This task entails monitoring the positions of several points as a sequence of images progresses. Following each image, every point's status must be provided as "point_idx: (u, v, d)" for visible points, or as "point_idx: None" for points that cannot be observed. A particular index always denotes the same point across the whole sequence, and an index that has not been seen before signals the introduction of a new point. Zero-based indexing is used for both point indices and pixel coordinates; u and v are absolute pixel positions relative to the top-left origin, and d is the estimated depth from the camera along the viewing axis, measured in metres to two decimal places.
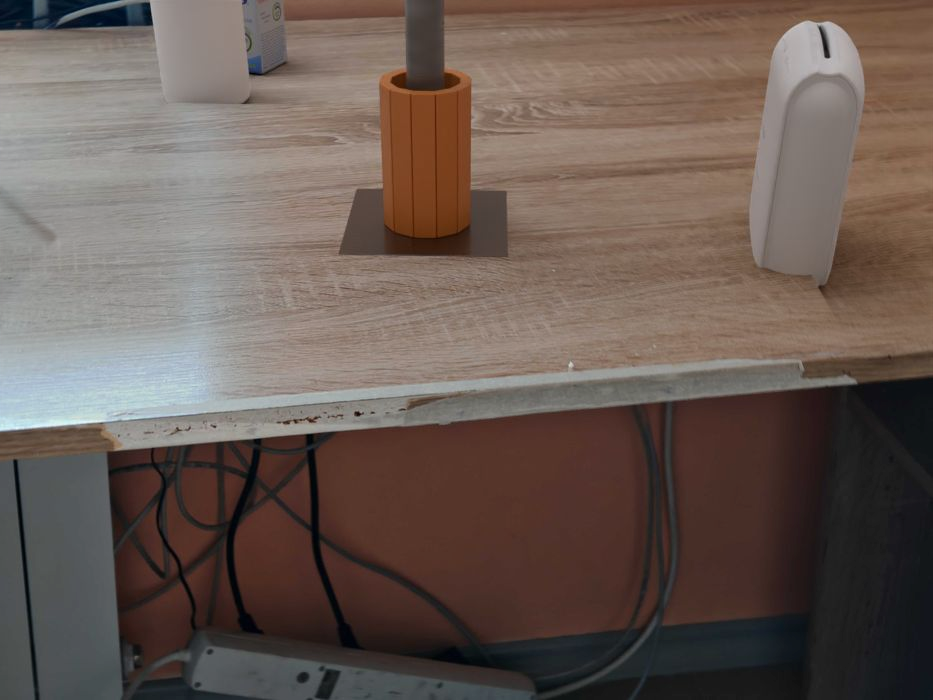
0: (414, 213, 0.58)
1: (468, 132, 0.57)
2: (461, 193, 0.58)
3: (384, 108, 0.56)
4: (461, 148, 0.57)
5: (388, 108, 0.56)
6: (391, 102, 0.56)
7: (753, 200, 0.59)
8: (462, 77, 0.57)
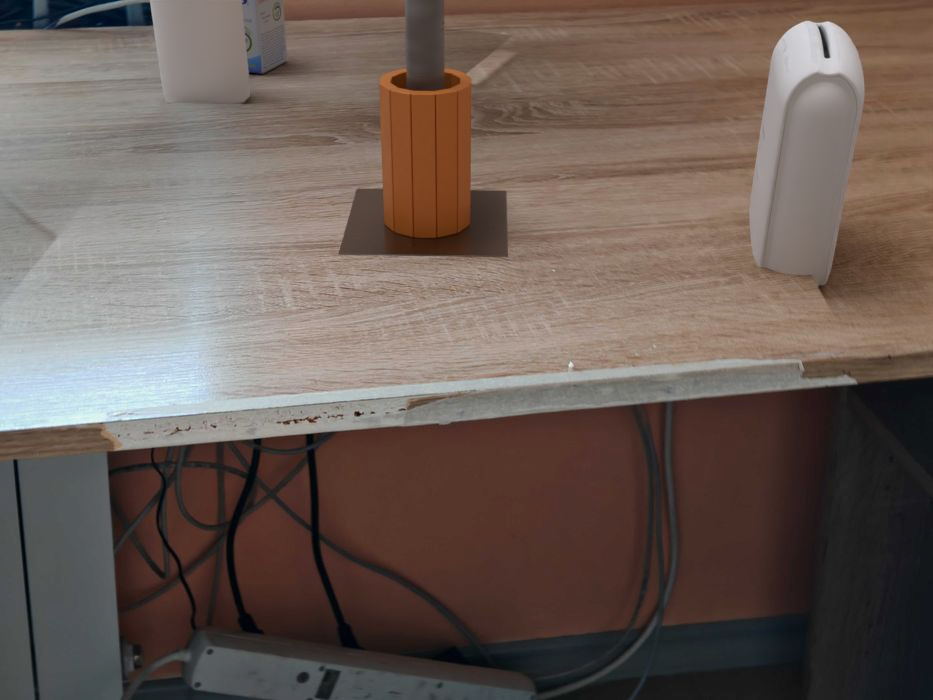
0: (414, 213, 0.58)
1: (468, 132, 0.57)
2: (461, 193, 0.58)
3: (384, 108, 0.56)
4: (461, 148, 0.57)
5: (388, 108, 0.56)
6: (391, 102, 0.56)
7: (753, 200, 0.59)
8: (462, 77, 0.57)
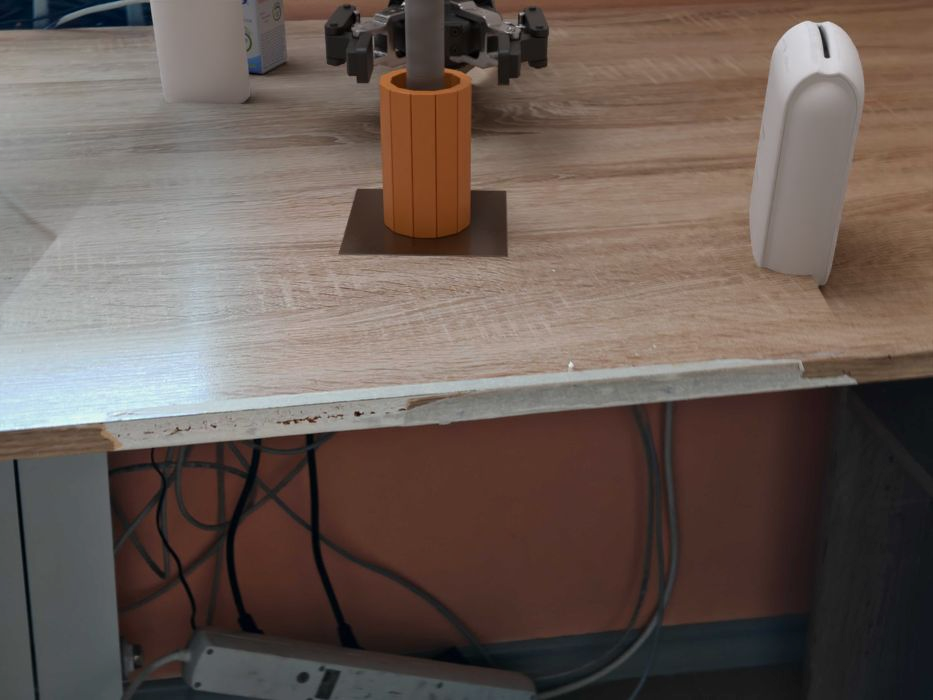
0: (414, 213, 0.58)
1: (468, 132, 0.57)
2: (461, 193, 0.58)
3: (384, 108, 0.56)
4: (461, 148, 0.57)
5: (388, 108, 0.56)
6: (391, 102, 0.56)
7: (753, 200, 0.59)
8: (462, 77, 0.57)
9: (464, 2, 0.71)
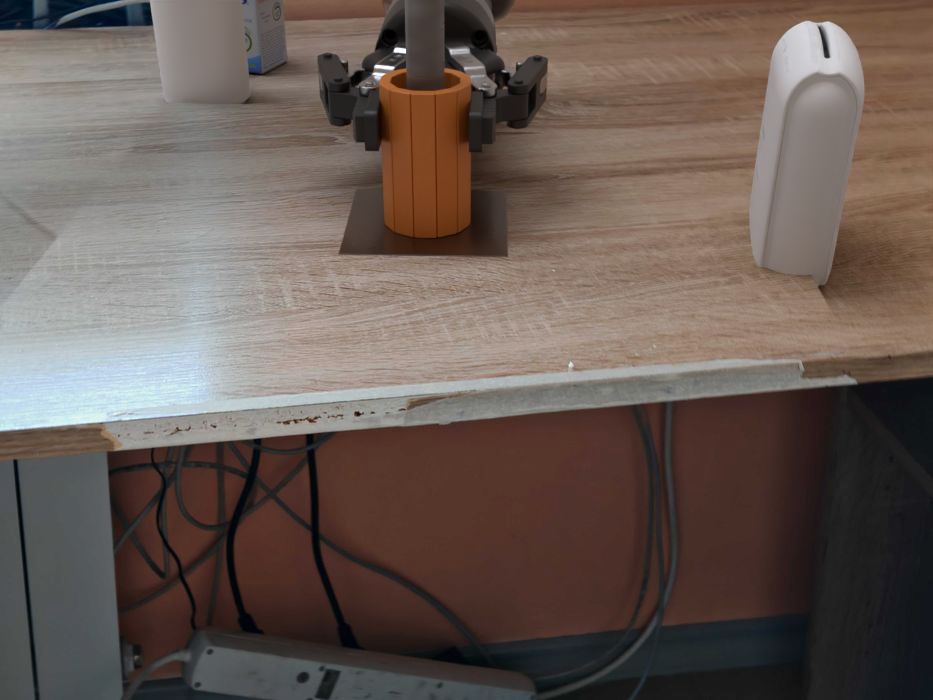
0: (414, 213, 0.58)
1: (468, 132, 0.57)
2: (461, 193, 0.58)
3: (384, 108, 0.56)
4: (461, 148, 0.57)
5: (388, 108, 0.56)
6: (391, 102, 0.56)
7: (753, 200, 0.59)
8: (462, 77, 0.57)
9: (457, 47, 0.62)
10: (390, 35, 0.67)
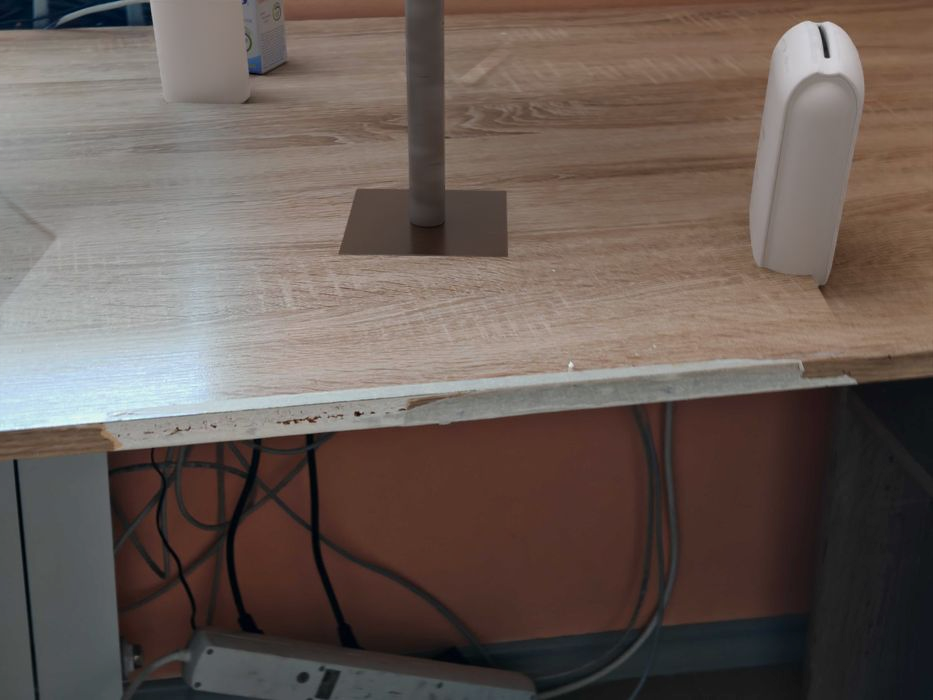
0: None
1: None
2: None
3: None
4: None
5: None
6: None
7: (753, 200, 0.59)
8: None
9: None
10: None
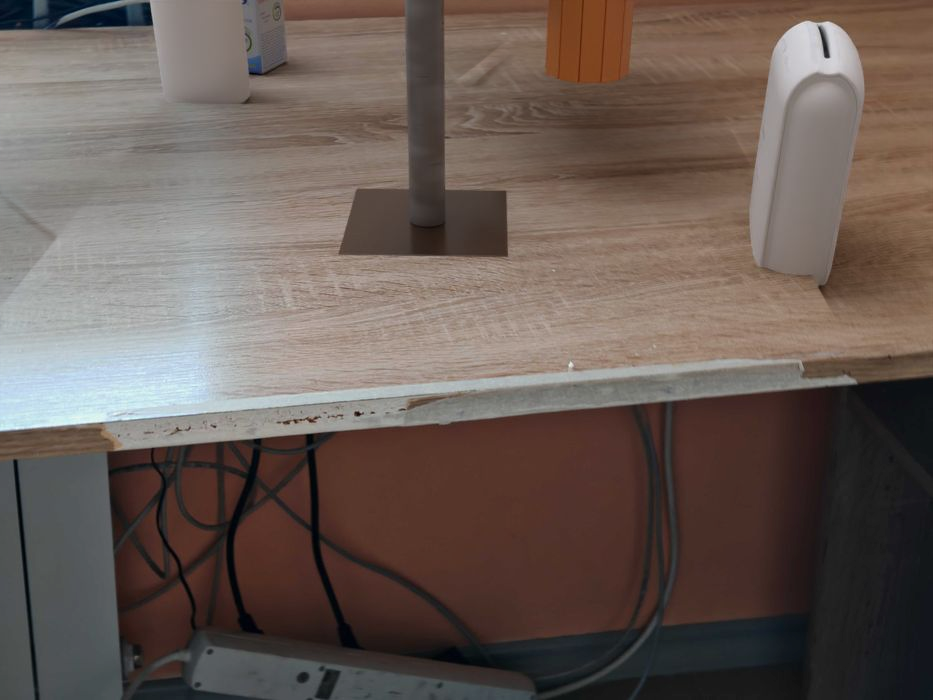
0: (581, 58, 0.61)
1: None
2: (625, 39, 0.61)
3: None
4: None
5: None
6: None
7: (753, 200, 0.59)
8: None
9: None
10: None
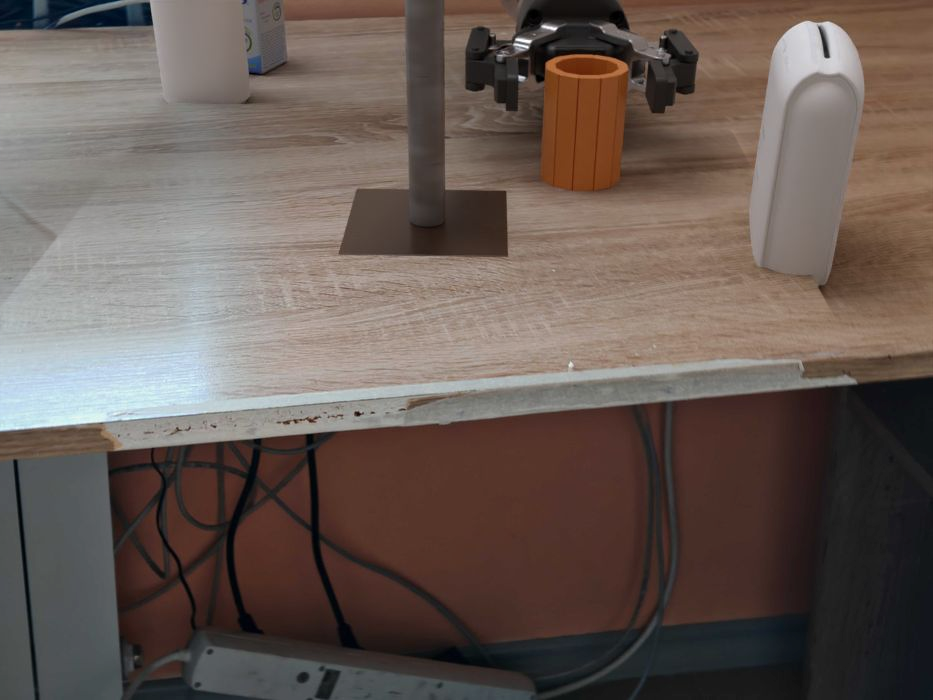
0: (573, 186, 0.65)
1: (624, 113, 0.64)
2: (615, 167, 0.65)
3: (551, 91, 0.63)
4: (618, 127, 0.64)
5: (555, 91, 0.62)
6: (559, 85, 0.62)
7: (753, 200, 0.59)
8: (619, 63, 0.64)
9: (605, 25, 0.68)
10: (532, 15, 0.73)
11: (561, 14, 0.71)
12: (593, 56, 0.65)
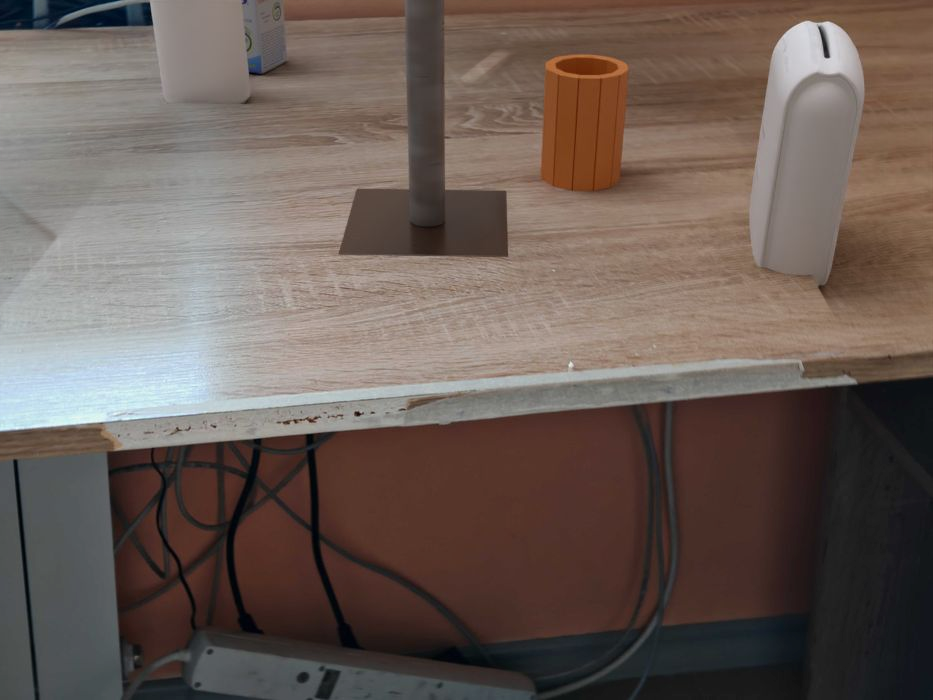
0: (573, 186, 0.65)
1: (624, 113, 0.64)
2: (615, 167, 0.65)
3: (551, 91, 0.63)
4: (618, 127, 0.64)
5: (555, 91, 0.62)
6: (559, 85, 0.62)
7: (753, 200, 0.59)
8: (619, 63, 0.64)
9: None
10: None
11: None
12: (593, 56, 0.65)
